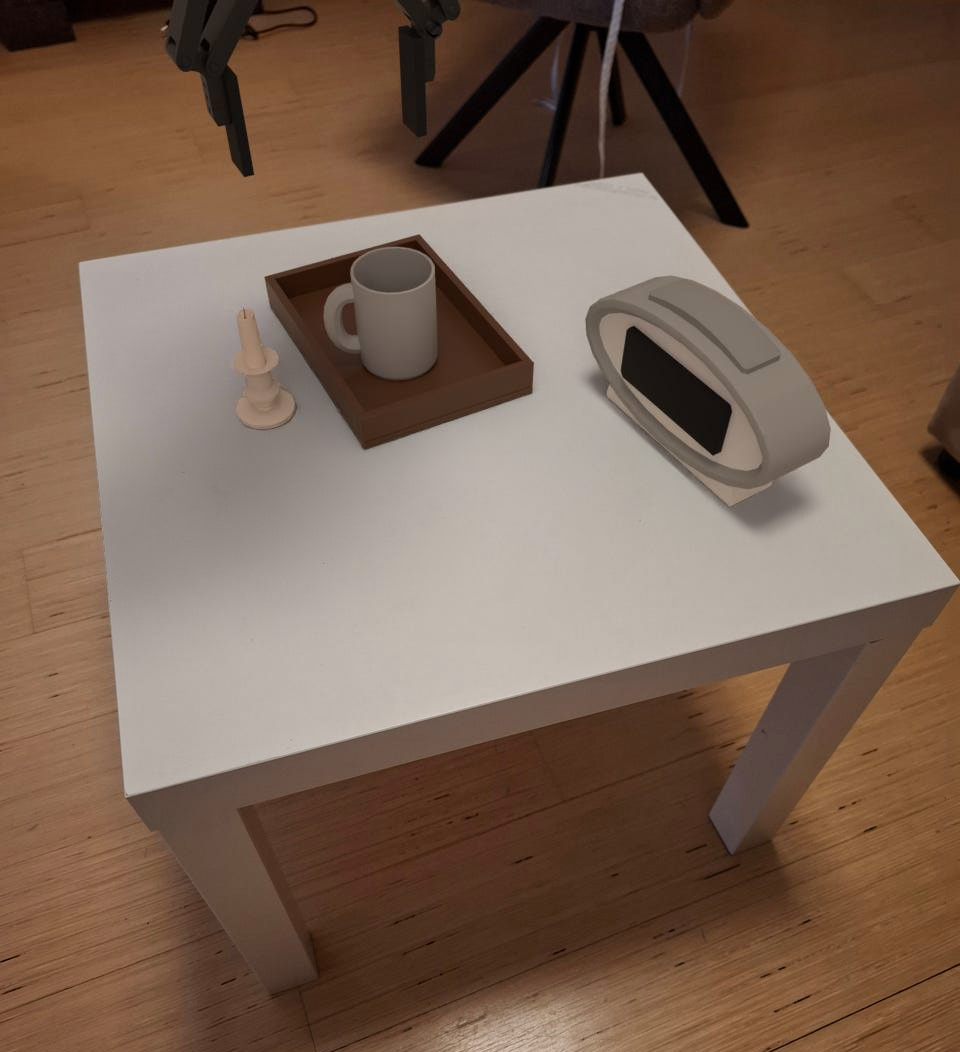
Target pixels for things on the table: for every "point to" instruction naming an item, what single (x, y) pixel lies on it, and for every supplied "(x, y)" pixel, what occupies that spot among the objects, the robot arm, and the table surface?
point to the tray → (415, 404)
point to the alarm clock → (708, 384)
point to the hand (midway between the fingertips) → (331, 148)
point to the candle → (259, 380)
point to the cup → (388, 313)
